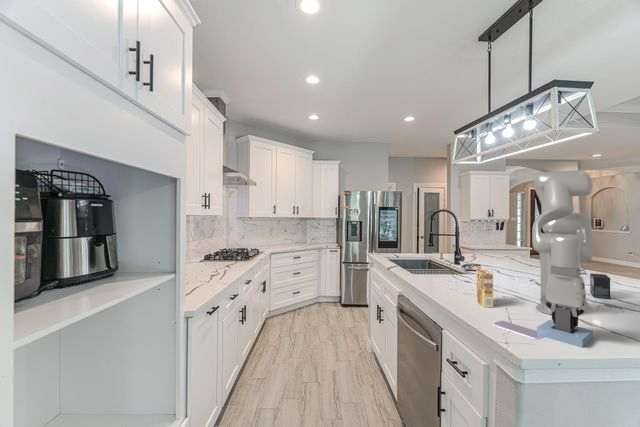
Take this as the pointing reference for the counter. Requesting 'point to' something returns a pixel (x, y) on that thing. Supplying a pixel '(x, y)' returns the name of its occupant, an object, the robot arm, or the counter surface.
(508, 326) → the mobile phone
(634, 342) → the counter surface
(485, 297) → the candy box
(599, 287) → the small box
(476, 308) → the counter surface
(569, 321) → the block
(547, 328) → the blue square socket base
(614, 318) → the counter surface
